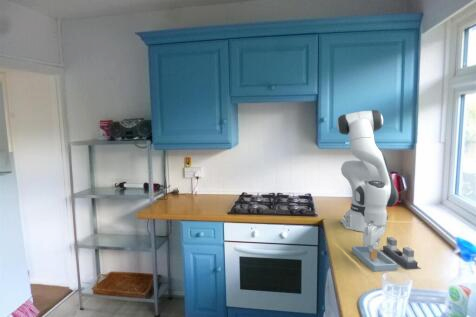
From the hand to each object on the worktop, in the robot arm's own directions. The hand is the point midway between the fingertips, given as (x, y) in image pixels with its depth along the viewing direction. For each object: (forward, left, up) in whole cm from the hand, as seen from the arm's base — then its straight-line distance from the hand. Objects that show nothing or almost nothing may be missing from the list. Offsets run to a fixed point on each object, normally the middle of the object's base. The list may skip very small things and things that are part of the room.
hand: (373, 249), depth 142 cm
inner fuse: (-6, +12, -5) cm, 14 cm away
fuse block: (0, +12, -6) cm, 13 cm away
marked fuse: (0, 0, -4) cm, 4 cm away
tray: (0, 0, -6) cm, 6 cm away
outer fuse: (+6, +12, -5) cm, 14 cm away
